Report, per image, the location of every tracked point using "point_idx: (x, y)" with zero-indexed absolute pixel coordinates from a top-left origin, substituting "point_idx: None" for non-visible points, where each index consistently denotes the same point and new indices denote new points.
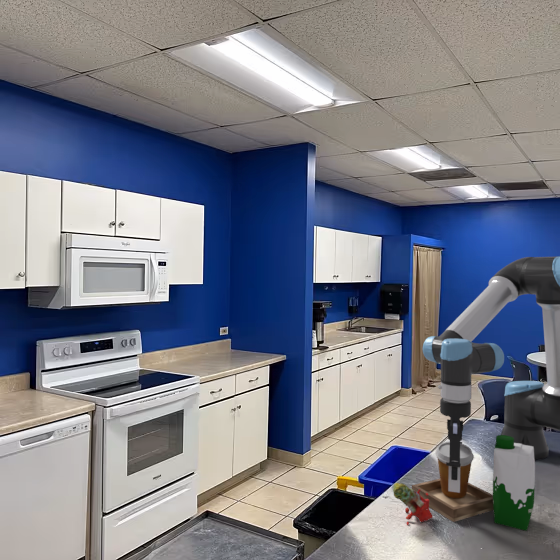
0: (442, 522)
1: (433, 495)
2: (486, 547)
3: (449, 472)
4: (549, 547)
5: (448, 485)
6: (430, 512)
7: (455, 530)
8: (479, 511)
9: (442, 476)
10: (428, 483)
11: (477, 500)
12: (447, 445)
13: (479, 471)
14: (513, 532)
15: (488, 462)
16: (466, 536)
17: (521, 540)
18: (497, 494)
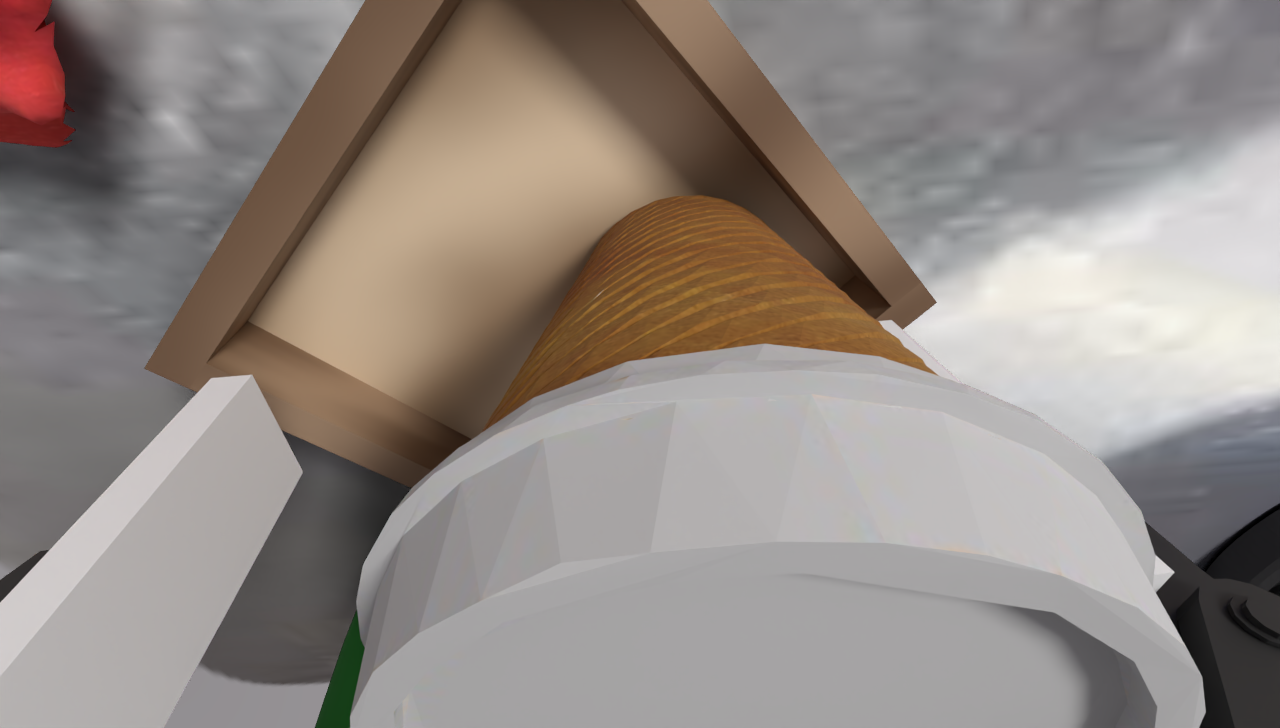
0: (125, 232)
1: (343, 148)
2: (20, 506)
3: (11, 610)
4: (301, 672)
5: (167, 426)
6: (5, 130)
7: (75, 336)
8: None
9: (581, 290)
10: (678, 52)
11: None
12: (1034, 678)
13: (1117, 394)
14: (345, 579)
15: (1237, 425)
16: (53, 406)
17: (280, 607)
18: (335, 714)
